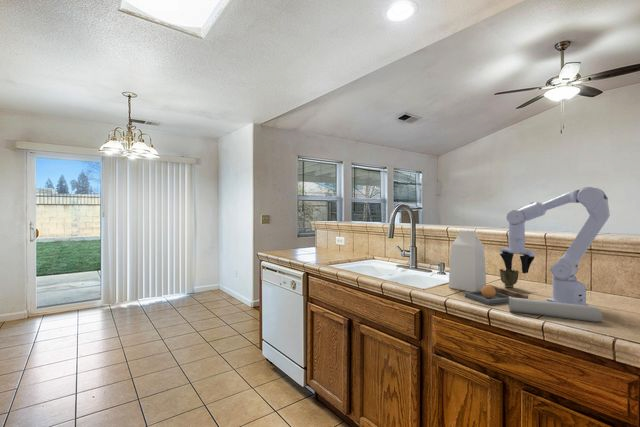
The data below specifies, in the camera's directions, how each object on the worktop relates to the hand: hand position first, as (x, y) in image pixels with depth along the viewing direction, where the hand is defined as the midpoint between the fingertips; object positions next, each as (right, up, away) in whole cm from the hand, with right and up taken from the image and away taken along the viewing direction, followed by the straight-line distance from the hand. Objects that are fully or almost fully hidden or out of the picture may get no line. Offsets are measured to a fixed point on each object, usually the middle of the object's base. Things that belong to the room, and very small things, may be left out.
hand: (516, 271), depth 130 cm
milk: (-15, -10, +11) cm, 21 cm away
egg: (-16, -7, -8) cm, 19 cm away
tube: (-5, -10, -28) cm, 30 cm away
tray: (-16, -10, -8) cm, 21 cm away
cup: (+3, -10, +10) cm, 14 cm away
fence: (-8, -10, -5) cm, 13 cm away
